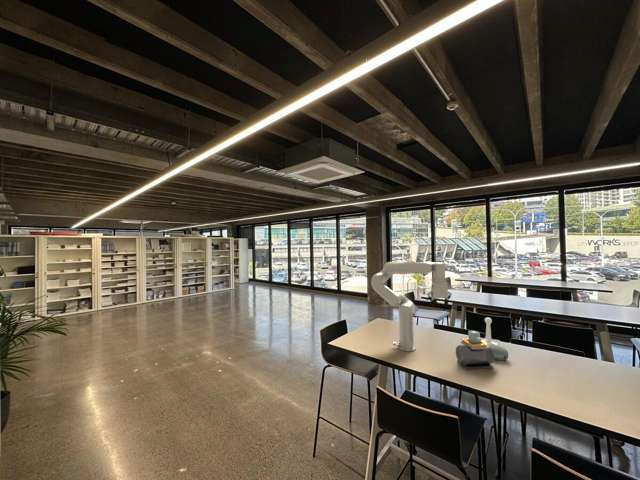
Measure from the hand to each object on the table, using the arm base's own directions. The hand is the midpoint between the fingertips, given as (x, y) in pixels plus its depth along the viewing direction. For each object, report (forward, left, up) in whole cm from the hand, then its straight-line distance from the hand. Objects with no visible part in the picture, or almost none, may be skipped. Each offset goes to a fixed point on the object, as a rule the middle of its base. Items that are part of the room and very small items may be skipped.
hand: (439, 305), depth 178 cm
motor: (+12, -18, -32) cm, 39 cm away
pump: (+12, -19, -19) cm, 30 cm away
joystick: (+43, +11, -33) cm, 55 cm away
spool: (+32, -10, -33) cm, 47 cm away
